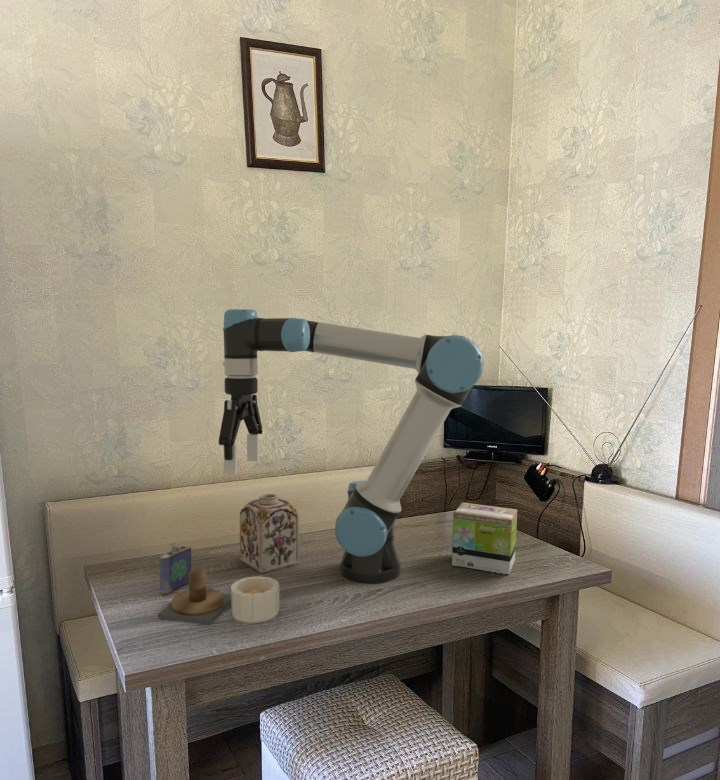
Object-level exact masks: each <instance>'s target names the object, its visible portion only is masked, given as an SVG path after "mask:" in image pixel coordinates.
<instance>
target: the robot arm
mask: <svg viewBox="0 0 720 780" xmlns="http://www.w3.org/2000/svg"><path fill="white" fill-rule="evenodd" d="M222 331H223V351H224V352H223V357H224V358H223V359H224V360H223V362H222V365H223V366H224V375H225V376H226V377H225V378H224V379H223V380H224V393H225V394H227V395H230V396H231V397H230V400H229V399H228V400H224V403H223V415H222V420H221V425H220V431H219V437H218V445H219V446H223V474H225V475H237V474H238V468H237V463H238V462H237V444H235V443H236V439H237V436H238V432H239V428H240V425H241V422H242V421H243V422H244V424H245V427H246V429H247V432H248V433H247V434H246V458H247V459H246V461H247V462H259V461H260V455H259V454H260V452H259V451H260V449H259V448H260V447H259V445H260V444H259V436H260V435H262V434H263V425H262V419H261V414H260V410H259V406H258V395H257V393H258V390H259V389H258V386H259V385H258V378H257V377H256V376H257V375H258V374H259V373H258V372H259V371H258V370H259V369H258V366H259V365H258V351H259V352H264V351H265V352H289V353H298V352H309V353H317V354H323V355H328V356H329V355H330V356H335V357H341V358H345V359H346V358H347V359H352V360H357V361H358V360H359V361H366V362H371V363H377V364H382V365H383V364H384V365H389V366H395V367H401V368H407V369H413V370H415V372H417V373H418V374H417V375H416V377H415V379H414V384H415V387H416V391H415V393H414V395H413V397H412V398H411V400H410V401H409V403H408V406H406V409H405V412H404V413H403V415H402V417H401V418H400V420H399V421H398V424H397V426H396V427H395V429H394V431H393V433H392V434H391V436H390V437H389V440H388V441H387V443H386V444H385V447H384V449H383V451H382V452H381V454H380V456H379V458H378V460H377V462H376V463H375V465H374V467H373V469H372V470H371V472H370V473H369V475H368V478H367V480H355V481H354V480H353V481H352V482H350V483H349V484H348V487H347V495H348V496H347V502H346V503H345V505H344V507H343V509H342V511H341V512H340V513H339V514H338V515H337V517H336V519H335V523H334V524H335V525H334V534H335V535H334V536H335V539H336V541H337V543H338V544H339V546H340V547H341V548H342V549H343V550H344V551H343V555H342V558H341V561H340V572H341V575H343V576H344V577H345V578H346V579H349V580H352V581H354V582H359V583H368V584H369V583H371V584H372V583H374V584H375V583H383V582H387V581H392V580H394V579H396V578H397V577H399V576H400V574H401V569H402V568H401V560H400V557H399V554H398V550H397V547H396V543H395V522H396V520H397V519H398V517H399V515H400V513H401V512H402V505H401V501H400V500H401V498H402V496H403V495H404V493H405V491H406V489H407V488H408V486H409V484H410V483H411V481H412V479H413V477H414V475H415V473H416V471H417V470H418V468H419V466H420V465H421V464H422V461H423V459H424V457H425V456H426V454H427V452H428V450H429V449H430V447H431V445H432V444H433V442H434V440H435V439H436V437H437V435H438V433H439V431H440V430H441V428H442V426H443V425H444V422H445V421H446V419H447V418H448V416H449V414H450V412H451V410H453V409H456V408H460V407H462V405H463V404H464V401H465V400H466V399H467V396H468V394H469V393H470V392H471V389H472V388H473V387H474V386H475V384H477V383H478V381H479V380H480V378H481V376H482V374H483V370H484V359H483V358H484V357H483V354H482V351H481V349H480V348H479V346H478V345H477V343H475V342H474V341H472V340H471V339H470V338H468V337H466V336H463V335H458V334H456V335H455V334H452V335H431V334H423V335H422V336H421V337H416V336H410V335H404V334H399V333H398V334H397V333H393V332H392V333H390V332H386V331H385V332H384V331H380V330H379V331H377V330H372V329H365V328H359V327H351V326H346V325H341V324H339V325H338V324H334V323H328V322H327V323H326V322H320V321H319V322H318V321H313V320H307V319H305V318H298V317H288V318H287V317H286V318H285V317H284V318H283V317H280V318H279V317H278V318H277V317H276V318H275V317H271V318H270V317H268V318H267V317H266V318H264V317H263V318H262V317H258V314H257V311H256V310H255V309H250V308H249V309H247V308H246V309H243V308H242V309H237V308H235V309H234V308H233V309H231V308H230V309H227V310H225V311H224V314H223V328H222Z"/></svg>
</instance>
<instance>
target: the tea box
mask: <svg viewBox="0 0 720 780" xmlns="http://www.w3.org/2000/svg"><path fill="white" fill-rule="evenodd" d="M452 519H453V520H452V521H453V522H452V542H451V545H452V547H451V549H452V550H451V564H452V567H462V568H467V569H468V568H469V569H474V570H480V571H484V572H489V571H490V572H489V573H495V572H496V573H495V574H500V573H503V574H502V575H505V574H509V575H510V573H511V570H512V569H513V566H514V564H515V562H514V561H516V549H517V527H518V525H517V524H518V523H517V522H518V508H517V509H515V508H508V507H507V508H506V507H501V506H500V507H499V506H492V505H485V504H477V503H469V502H461V503H460V504H459V506H458V507H457V509H456V510H455V511H454V512H453V518H452Z"/></svg>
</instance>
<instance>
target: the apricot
mask: <svg viewBox="0 0 720 780" xmlns="http://www.w3.org/2000/svg"><path fill="white" fill-rule="evenodd" d="M249 593H251V594H254V593H262V592H261V591H260V590H252V591H250V592H249Z"/></svg>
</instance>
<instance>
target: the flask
mask: <svg viewBox="0 0 720 780" xmlns="http://www.w3.org/2000/svg"><path fill="white" fill-rule="evenodd" d="M169 547H170V550H169V551H168V552H165V553H164V554H162V555H160V556H159V587H160V588H159V594H160V595H162V596H164V597H165V596H166V595H172V594H173V593H175V592H177V591H179V590H181V588H184V587H186V586H189V572H190V571H192V547H191V546H189V545H181V546H178V545H177V544H176V543H175V542H173V543H171V544H169Z"/></svg>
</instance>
